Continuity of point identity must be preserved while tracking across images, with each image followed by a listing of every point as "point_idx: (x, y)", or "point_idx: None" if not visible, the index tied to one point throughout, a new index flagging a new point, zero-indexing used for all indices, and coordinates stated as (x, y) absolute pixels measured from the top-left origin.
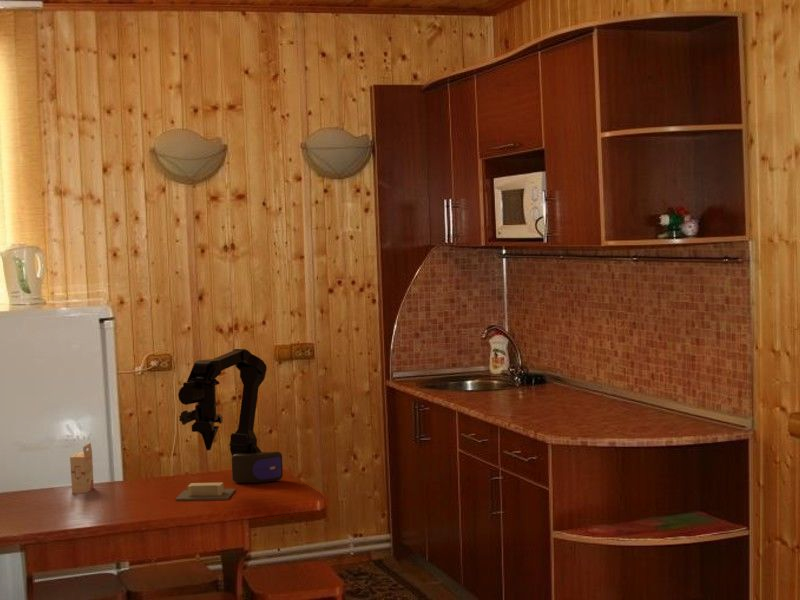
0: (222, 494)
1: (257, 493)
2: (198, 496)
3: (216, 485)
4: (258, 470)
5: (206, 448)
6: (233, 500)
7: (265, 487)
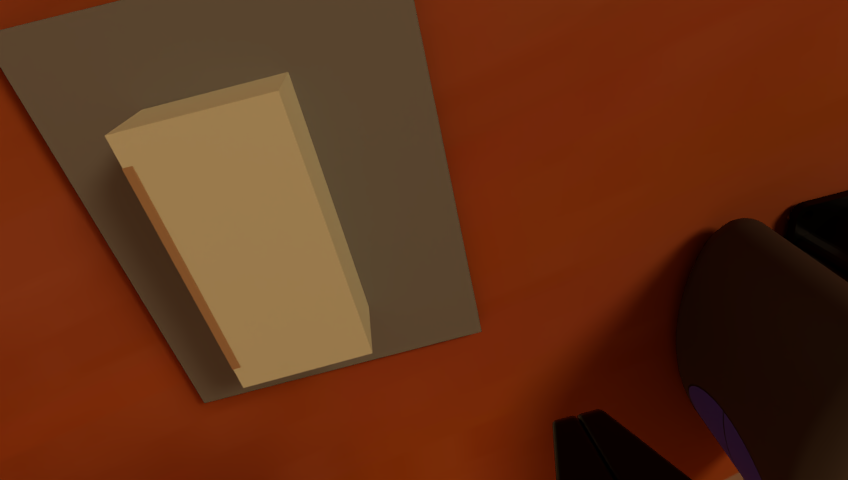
0: None
1: (417, 454)
2: None
3: (231, 366)
4: (721, 433)
5: (556, 449)
6: (205, 425)
7: None
